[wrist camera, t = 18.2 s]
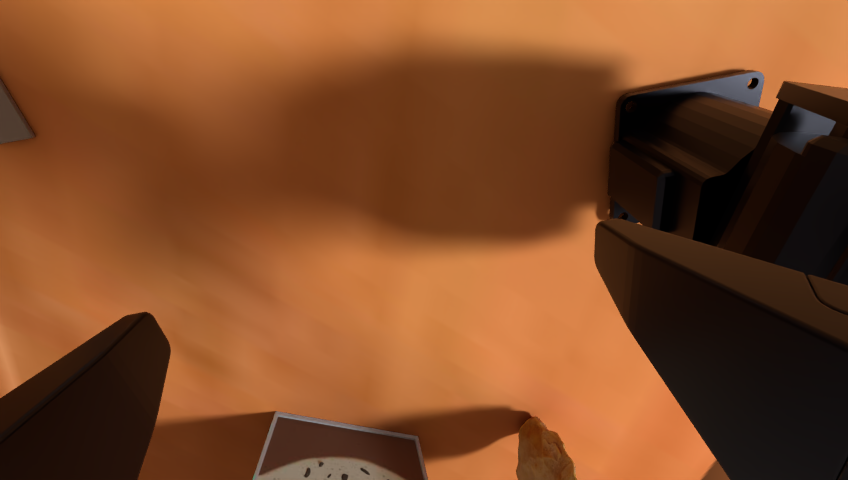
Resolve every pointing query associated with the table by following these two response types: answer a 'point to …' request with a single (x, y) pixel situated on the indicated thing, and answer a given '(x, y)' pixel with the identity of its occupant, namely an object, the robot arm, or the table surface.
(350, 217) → the table surface
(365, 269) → the table surface
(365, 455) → the food container
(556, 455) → the stone tool
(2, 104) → the bar
